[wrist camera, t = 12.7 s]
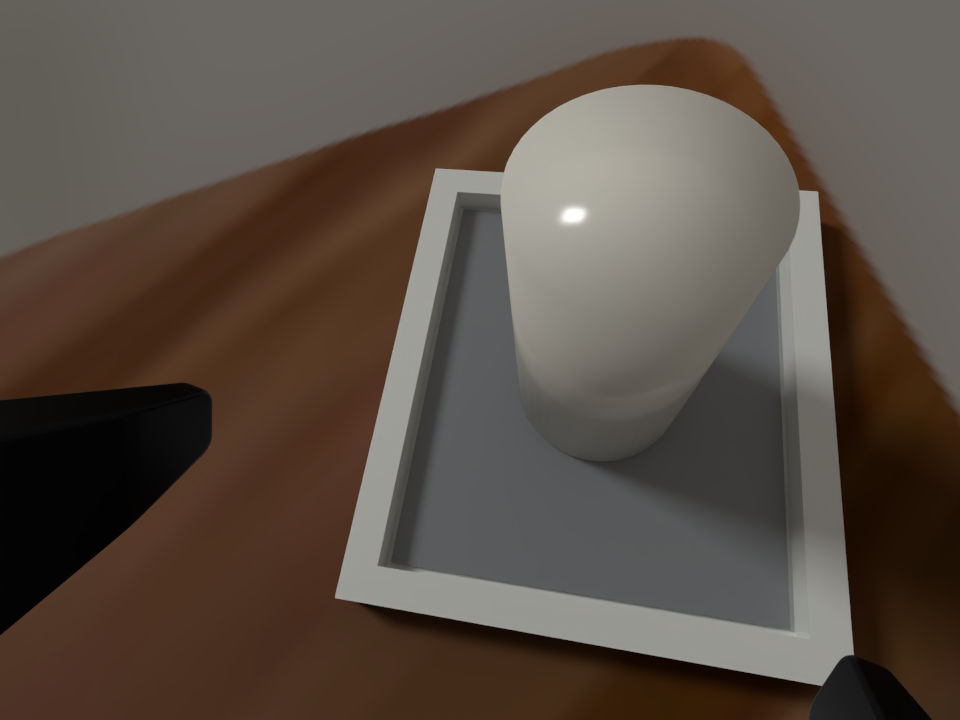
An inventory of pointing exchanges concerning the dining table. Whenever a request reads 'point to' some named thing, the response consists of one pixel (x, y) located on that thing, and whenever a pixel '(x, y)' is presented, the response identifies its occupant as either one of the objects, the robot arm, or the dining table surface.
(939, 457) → the dining table surface
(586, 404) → the grey rounded cylinder
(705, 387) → the tray
